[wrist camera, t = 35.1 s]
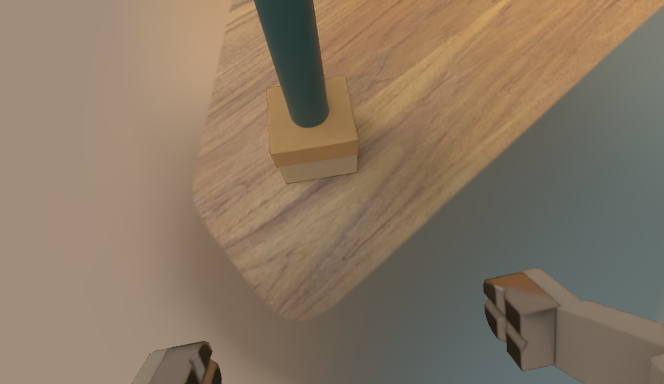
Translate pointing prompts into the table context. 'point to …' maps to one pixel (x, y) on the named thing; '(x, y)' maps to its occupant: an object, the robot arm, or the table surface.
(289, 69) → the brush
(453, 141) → the table surface
